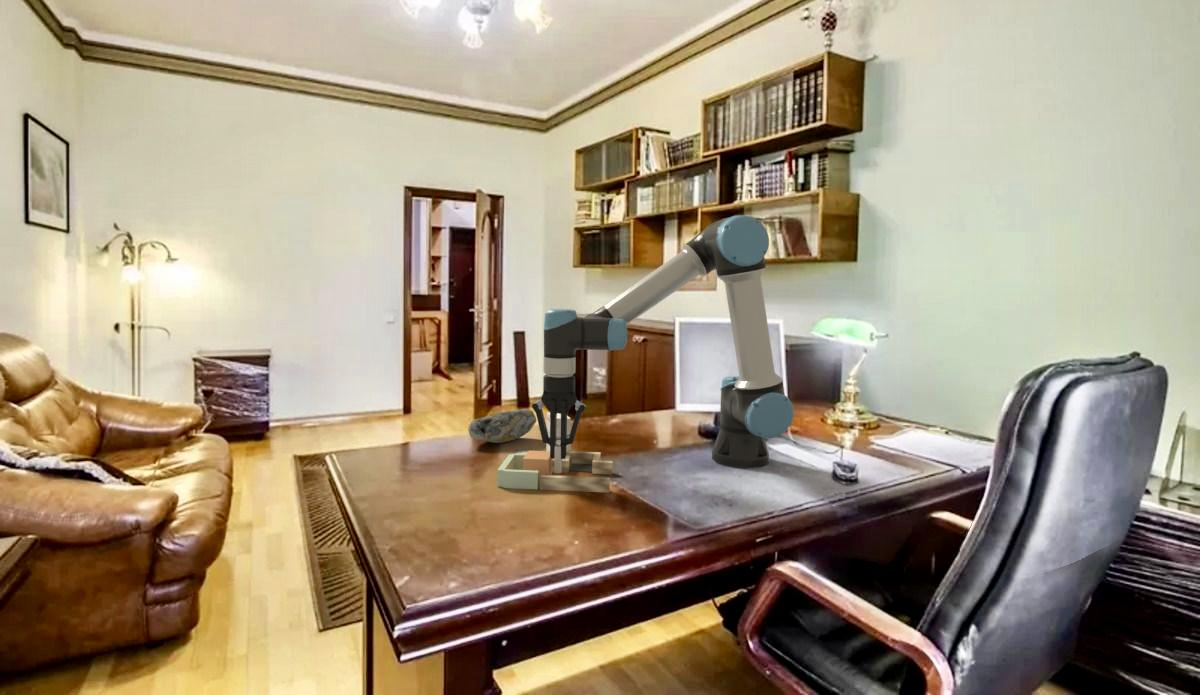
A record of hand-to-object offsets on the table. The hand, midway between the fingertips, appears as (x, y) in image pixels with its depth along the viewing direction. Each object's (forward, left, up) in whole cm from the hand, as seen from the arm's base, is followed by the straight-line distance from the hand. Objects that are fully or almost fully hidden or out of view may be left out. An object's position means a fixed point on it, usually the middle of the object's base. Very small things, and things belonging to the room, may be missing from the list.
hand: (557, 471), depth 156 cm
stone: (+20, -32, -2) cm, 38 cm away
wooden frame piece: (-5, -4, -2) cm, 7 cm away
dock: (+8, 0, -2) cm, 8 cm away
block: (+5, 0, -2) cm, 5 cm away
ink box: (+2, -19, -2) cm, 19 cm away
